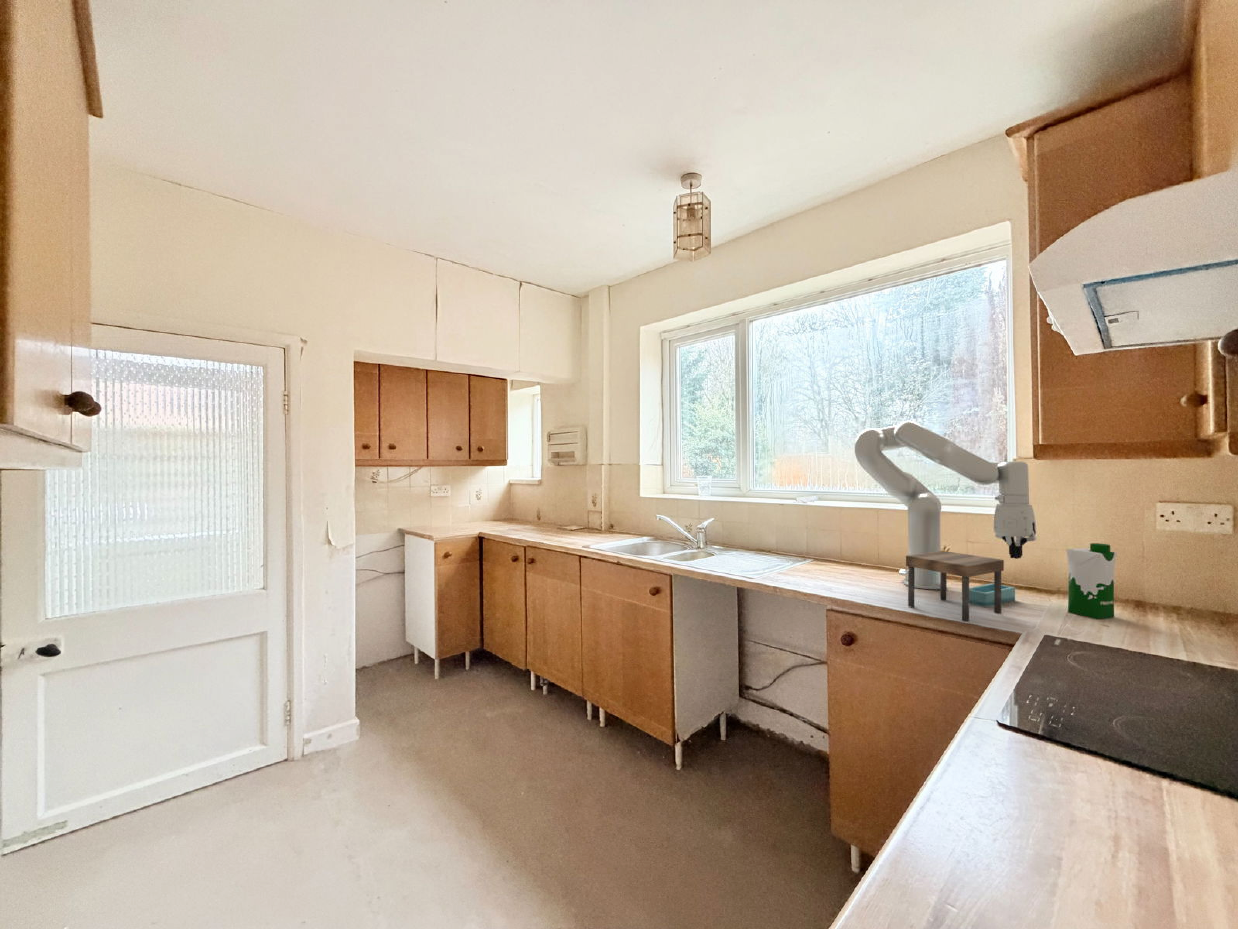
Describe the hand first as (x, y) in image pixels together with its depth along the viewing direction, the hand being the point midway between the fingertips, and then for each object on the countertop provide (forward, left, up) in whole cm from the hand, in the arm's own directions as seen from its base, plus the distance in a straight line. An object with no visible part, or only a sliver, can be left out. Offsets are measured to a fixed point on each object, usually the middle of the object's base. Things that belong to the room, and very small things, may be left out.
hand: (1015, 557), depth 162 cm
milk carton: (+20, -4, -12) cm, 24 cm away
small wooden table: (-1, -33, -12) cm, 35 cm away
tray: (-1, -14, -12) cm, 19 cm away
